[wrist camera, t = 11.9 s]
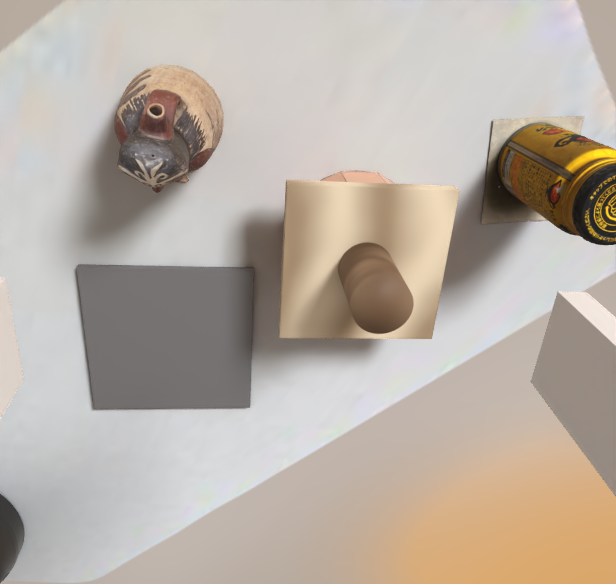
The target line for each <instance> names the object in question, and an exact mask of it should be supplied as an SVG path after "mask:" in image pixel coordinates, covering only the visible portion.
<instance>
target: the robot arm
mask: <svg viewBox="0 0 616 584" xmlns="http://www.w3.org/2000/svg"><path fill="white" fill-rule="evenodd" d="M23 380H24V377H23V371H22V366H21V360H20V355H19V349H18V343H17V338H16V332H15V327H14V321H13V315H12V310H11V304H10V298H9V293H8V287H7V282H6V278H0V419H1V418H2V416H3V414H4V413H5V411H6V409H7V407H8V406H9V404H10V402H11V401H12V399H13V397H14V395H15V394H16V392H17V390H18V389H19V387H20V385H21V383H22V382H23ZM531 383H532V384H533V386H534V387H535V388H536V389H537V391H538V392H539V394H540V395H541V396H542V398H543V399H544V400H545V402H546V403H547V404H548V406H549V407H550V409H551V410H552V411H553V413H554V414H555V415H556V417H557V418H558V419H559V420H560V422H561V423H562V425H563V426H564V427H565V429H566V430H567V431H568V433H569V434H570V436H571V437H572V438H573V440H574V441H575V442H576V443H577V445H578V446H579V447H580V449H581V450H582V452H583V453H584V454H585V456H586V457H587V458H588V460H589V461H590V462H591V464H592V465H593V466H594V468H595V469H596V471H597V472H598V473H599V475H600V476H601V477H602V479H603V480H604V481H605V483H606V484H607V485H608V487H609V488H610V489H611V491H612V492H613V493H614V495H615V496H616V317H614V316H613V315H612V314H611V313H610V312H609V311H608V310H606V309H605V308H604V307H603V306H601V304H599V303H598V302H597V301H596V300H595V299H594V298H593V297H591V296H590V295H589V294H588V293H587V292H559V291H558V292H557V296H556V299H555V302H554V306H553V309H552V312H551V316H550V319H549V322H548V326H547V329H546V332H545V336H544V339H543V342H542V346H541V349H540V353H539V356H538V359H537V363H536V366H535V369H534V373H533V376H532V379H531ZM23 541H24V527H23V523H22V520H21V518H20V516H19V514H18V512H17V511H16V509H15V508H14V507H13V505H12V504H11V503H10V502H9V501H8V500H7V499H6V498H5V497H3V496H2V495H1V494H0V583H1V582H2V581H3V580H4V579H5V577H6V576H7V575H8V574H9V573H10V571H11V570H12V568H13V566H14V564H15V562H16V560H17V557H18V555H19V552H20V550H21V548H22V545H23Z"/></svg>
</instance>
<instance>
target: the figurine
mask: <svg viewBox="0 0 616 584" xmlns="http://www.w3.org/2000/svg"><path fill="white" fill-rule="evenodd" d="M222 130H223V110H222V107H221V103H220V101H219V99H218V97H217V95H216V93H215V91H214V90H213V89H212V87H211V86H210V85H209V84H208V83H207V82H206V81H205V80H204V79H203V78H202V77H200V76H199V75H197V74H196V73H195V72H193V71H191V70H188V69H185V68H182V67H179V66H173V65H160V66H156V67H152V68H149V69H146V70H144V71H143V72H141V73H140V74H139V75H137V76H136V77H135V78H134V79H133V80H132V82H131V83H130V84H129V85H128V87H127V88H126V90H125V92H124V94H123V96H122V98H121V103H120V106H119V108H118V111H117V113H116V116H115V131H116V134H117V137H118V140H119V141H120V143H121V148H120V153H119V161H118V164H117V166H118V168H119V170H121V171H122V172H124V173H126V174H127V175H129V176H131V177H133V178H134V179H136V180H138V181H140V182H142V183H144V184H146V185H148V186H150V187H152V189H153V190H154V191H155V192H157V193H158V192H160V191H161V190H162V188H163V187H164V186H165V185H166V184H168V183H171V182H179V183H186V182H188V181H189V180H188V179H187V177H186V175H185V173H187V172H192V171H195V170H197V169H199V168H200V167H202V166H203V165H204V164H205V163H206V162H207V161H208V159H209V158H210V157H211V155H212V153H213V152H214V150H215V149H216V147H217V145H218V143H219V141H220V138H221V135H222Z"/></svg>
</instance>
